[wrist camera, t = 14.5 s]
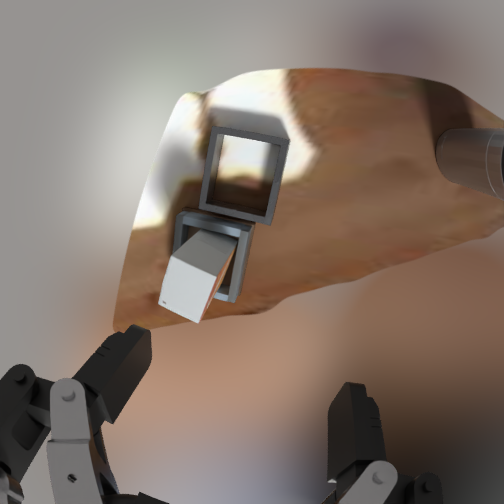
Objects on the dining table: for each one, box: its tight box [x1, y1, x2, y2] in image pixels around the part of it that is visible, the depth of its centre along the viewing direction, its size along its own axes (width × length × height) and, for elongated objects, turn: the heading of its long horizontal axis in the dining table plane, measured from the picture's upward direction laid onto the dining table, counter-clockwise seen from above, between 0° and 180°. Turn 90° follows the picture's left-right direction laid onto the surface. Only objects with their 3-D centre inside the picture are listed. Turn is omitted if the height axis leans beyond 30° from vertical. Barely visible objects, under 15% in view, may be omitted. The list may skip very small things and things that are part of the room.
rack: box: [173, 207, 256, 303], centre depth 44 cm, size 12×13×4 cm
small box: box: [158, 228, 238, 323], centre depth 39 cm, size 8×6×13 cm
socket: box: [199, 126, 290, 225], centre depth 39 cm, size 11×12×4 cm
